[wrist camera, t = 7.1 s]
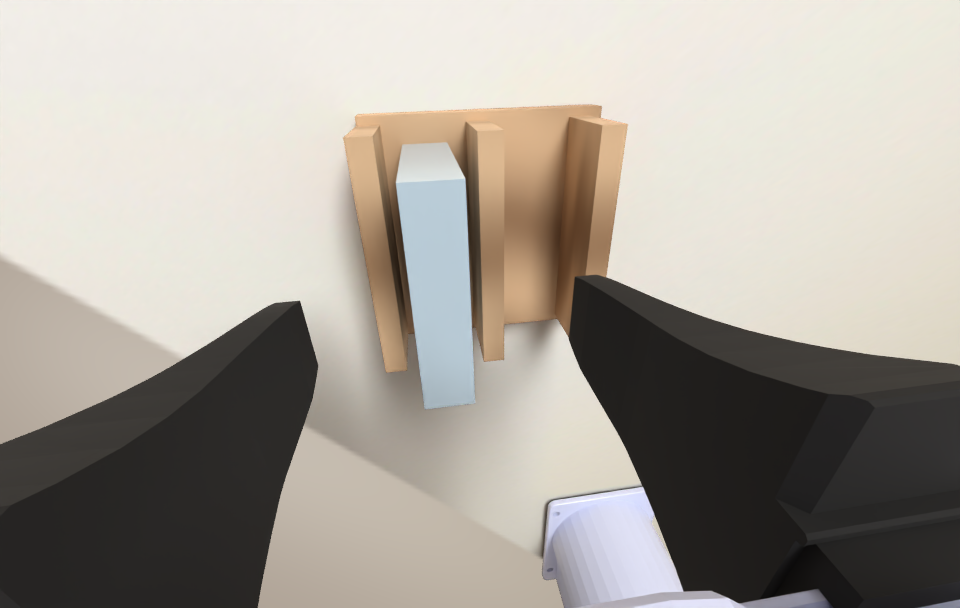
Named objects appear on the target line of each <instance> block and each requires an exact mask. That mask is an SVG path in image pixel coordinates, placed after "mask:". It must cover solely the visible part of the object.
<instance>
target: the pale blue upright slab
mask: <svg viewBox="0 0 960 608" xmlns="http://www.w3.org/2000/svg"><path fill="white" fill-rule="evenodd" d="M396 188H397V196H398V204H399V212H400V220H401V227H402V235H403V243H404V251H405V259H406V267H407V274H408V282H409V290H410V298H411V306H412V314H413V321H414V329H415V337H416V345H417V353H418V360H419V368H420V376H421V384H422V392H423V400H424V407H425V409H433V408H441V407H449V406H458V405H466V404H474V403H475V387H474V364H473V341H472V318H471V295H470V272H469V249H468V226H467V203H466V180H465V177H464V175H463V173H462V171H461V169H460V167H459V165H458V163H457V161H456V159H455V157H454V155H453V153H452V151H451V149H450V147H449V145H448V143H447V142H442V143H422V144H402V149H401V155H400V161H399V167H398V173H397V179H396Z"/></svg>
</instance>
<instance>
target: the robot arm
mask: <svg viewBox="0 0 960 608" xmlns="http://www.w3.org/2000/svg"><path fill="white" fill-rule="evenodd" d="M569 341H570V344H571V347H572V349H573V352H574V355H575V357H576V359H577V362H578V364H579V367H580V369H581V371H582V372H583V374H584V376H585V378H586V380H587V381H588V383H589V385H590V386H591V388H592V390H593V392H594V393H595V395H596V397H597V398H598V400H599V402H600V404H601V405H602V407H603V409H604V410H605V412H606V414H607V416H608V417H609V419H610V421H611V422H612V424H613V426H614V427H615V429H616V431H617V433H618V434H619V436H620V438H621V440H622V442H623V444H624V446H625V448H626V450H627V452H628V454H629V457H630V459H631V461H632V463H633V466H634V468H635V470H636V472H637V474H638V477H639V479H640V481H641V484H642V486H643V487H638V488H632V489H625V490H619V491H612V492H605V493H599V494H592V495H586V496H579V497H572V498H566V499H559V500H554V501H552V502H550V503H549V505H548V511H547V522H546V533H545V544H544V556H543V567H542V576H543V578H544V579H545V580H552V579H556V580H557V584H558V587H559V591H560V594H561V598H562V601H563V605H564V608H960V366H958V365H955V364H948V363H939V362H930V361H922V360H913V359H904V358H895V357H886V356H877V355H870V354H863V353H857V352H851V351H844V350H838V349H832V348H826V347H821V346H815V345H810V344H805V343H800V342H795V341H791V340H786V339H782V338H777V337H773V336H768V335H764V334H760V333H756V332H752V331H749V330H745V329H741V328H738V327H735V326H731V325H728V324H725V323H721V322H718V321H715V320H712V319H709V318H706V317H703V316H700V315H697V314H694V313H692V312H689V311H686V310H684V309H681V308H678V307H676V306H673V305H671V304H668V303H666V302H663V301H661V300H659V299H656V298H654V297H651V296H649V295H647V294H644V293H642V292H640V291H638V290H635V289H633V288H631V287H628V286H626V285H624V284H621V283H619V282H617V281H614V280H612V279H609V278H606V277H603V276H600V275H586V276H575V279H574V289H573V300H572V310H571V320H570V331H569ZM317 370H318V363H317V359H316V356H315V352H314V349H313V345H312V342H311V338H310V335H309V331H308V328H307V324H306V321H305V317H304V313H303V310H302V306H301V303H300V301H293V302H282V303H274V304H272V305H270V306H268V307H266V308H264V309H262V310H261V311H259V312H257V313H256V314H254V315H253V316H251V317H250V318H248V319H246V320H245V321H243V322H242V323H240V324H239V325H237V326H236V327H234V328H233V329H231V330H230V331H228V332H226V333H225V334H223V335H222V336H220V337H219V338H217V339H216V340H214V341H213V342H211V343H209V344H208V345H206V346H204V347H203V348H201V349H199V350H198V351H196V352H195V353H193V354H191V355H190V356H188V357H186V358H185V359H183V360H181V361H180V362H178V363H176V364H175V365H173V366H171V367H170V368H168V369H166V370H164V371H162V372H161V373H159V374H157V375H155V376H153V377H152V378H149V379H148V380H146V381H144V382H142V383H140V384H138V385H136V386H134V387H132V388H130V389H128V390H126V391H124V392H122V393H120V394H118V395H116V396H114V397H112V398H109V399H107V400H105V401H103V402H101V403H98V404H96V405H94V406H92V407H89V408H87V409H85V410H83V411H80V412H78V413H76V414H73V415H71V416H69V417H66V418H64V419H62V420H60V421H57V422H55V423H53V424H50V425H48V426H46V427H43V428H41V429H39V430H36V431H33V432H31V433H28V434H26V435H23V436H20V437H18V438H15V439H13V440H10V441H8V442H5V443H3V444H0V608H258V602H259V595H260V590H261V584H262V579H263V574H264V569H265V564H266V559H267V554H268V549H269V544H270V539H271V534H272V530H273V525H274V521H275V517H276V512H277V508H278V503H279V499H280V495H281V491H282V488H283V484H284V481H285V478H286V475H287V472H288V469H289V466H290V463H291V460H292V457H293V454H294V451H295V449H296V446H297V443H298V440H299V437H300V434H301V431H302V429H303V426H304V423H305V420H306V417H307V414H308V411H309V408H310V405H311V402H312V398H313V393H314V388H315V383H316V377H317ZM654 515H655V517H656V520H657V522H658V525H659V527H660V530H661V533H662V535H663V538H664V540H665V543H666V546H667V548H668V551H669V553H670V556H671V558H670V556H669V554H668V553H667V551H666V549H665V547H664V545H663V543H662V541H661V539H660V538H659V536H658V534H657V532H656V530H655V528H654V526H653V524H652V520H653V517H654ZM671 559H672V560H671ZM672 561H673V562H672Z"/></svg>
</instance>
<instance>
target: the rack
mask: <svg viewBox="0 0 960 608" xmlns="http://www.w3.org/2000/svg"><path fill="white" fill-rule="evenodd" d="M601 109H602V106H598V105H568V106H544V107H520V108H496V109H472V110H448V111H424V112H400V113H376V114H358V115H356V116H355V121H356V127H355V128H354V129H353V130H351V131H350V132H349V133H348V134H347V135H346V136H344V137H343V140H344V145H345V151H346V156H347V162H348V167H349V172H350V178H351V183H352V189H353V194H354V200H355V205H356V211H357V216H358V222H359V227H360V233H361V238H362V244H363V249H364V255H365V260H366V266H367V271H368V277H369V282H370V288H371V293H372V298H373V304H374V309H375V315H376V320H377V326H378V331H379V337H380V342H381V348H382V353H383V359H384V364H385V370H386V373H388V372H397V371H406V370H407V353H408V334H413V333H415V329H414V321H413V314H412V306H411V298H410V290H409V282H408V274H407V267H406V259H405V251H404V243H403V235H402V227H401V220H400V212H399V204H398V196H397V188H396V179H397V173H398V167H399V161H400V155H401V149H402V144H422V143H442V142H447V143H448V145H449V147H450V149H451V151H452V153H453V155H454V157H455V159H456V161H457V163H458V165H459V167H460V169H461V171H462V173H463V175H464V177H465V180H466V203H467V226H468V249H469V272H470V295H471V318H472V328H473V327H476V331H477V335H478V339H479V343H480V347H481V351H482V356H483V360H484V362H487V361H496V360H504V324H512V323H522V322H532V321H542V320H552V319H558V320H559V322H560V324H561V325H562V327H563V329H564V330H565V332H566V334H567V335H568V337H569V331H570V320H571V310H572V300H573V289H574V279H575V276H586V275H600V276H603V277H606V275H607V268H608V261H609V254H610V247H611V240H612V232H613V225H614V218H615V211H616V204H617V197H618V190H619V183H620V176H621V169H622V162H623V154H624V147H625V140H626V133H627V126H628V124H625V123H621V122H616V121H612V120H607V119H603V118H601Z"/></svg>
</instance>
